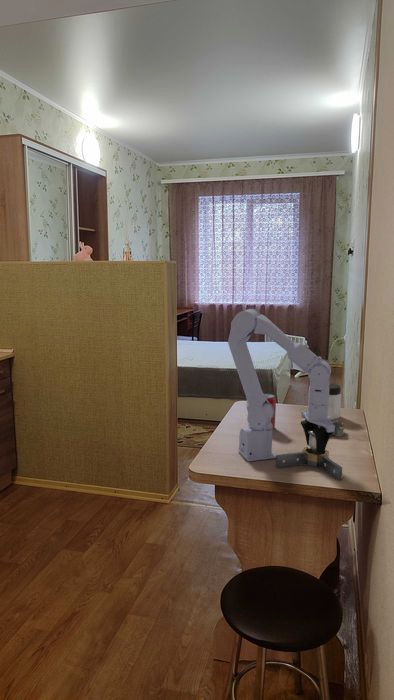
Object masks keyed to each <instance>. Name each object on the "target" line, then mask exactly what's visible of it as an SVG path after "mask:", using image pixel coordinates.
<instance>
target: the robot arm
mask: <svg viewBox="0 0 394 700" xmlns="http://www.w3.org/2000/svg"><path fill="white" fill-rule="evenodd" d="M253 333H254V334H258V335H265V336H266V337H267V338H269V339H270V340H272V342H274V343H275V344H276V345H278V346H279V347H281V348H282V349H283V350H284V351H286V353H287V358H288V359H289V360H290V361H291V362H292V363H293V364H294V365H296V366H297V367H298V368H299V369H300V370H302V371H303V372H304V373H307V376H308V379H309V387H308V397H307V398H308V399H307V410H301V414H300V416H301V418H302V419H304V420H301V421H300V425H301V427H302V429H303V432H304V436H305V440H306V441H305V442H306V445H307V447H309V436H310V434H308V430H309V429H311V428H313V431H314V433H315V437H316V449H317V452H324V451H325V449H326V448H327V445H328V442H329V440H330V438H331V436H333V435H332V434H333V432H334V430H335V425H333V424H332V423H331V422H332V421H331V417H329V416H328V405H329V384H331V383H330V378H331V373H332V368H331V365H330V363H328V361H327V360H325V359H322V357H321V356H320V355H319V356H317V355H316V354H315V353H314V352H313V351H312V350H311V349H310V346H309V345H308V344H307V343H305V344H304V343H302V342H294V341H293V340H292V339H291V338H290V337H289V336H287V335H286V333H285V332H283V331H282V329H280V328H279V327H278V326H277V325H276V324H274V322H272V321H271V320H270V319H269V318H268V317H267V316H266V315H264V314H261V313H260V311H258V310H257V309H255V308H247V309H246V310H242V311H240V312H237V314H235V316H234V318H233V319H232V321H231V322H230V331H229V334H228V335H229V336H228V339H227V340H228V341H227V344H228V347H229V350H230V353H231V357H232V359H233V363H234V365H235V367H236V371H237V373H238V376H239V380H240V383H241V386H242V389H243V392H244V395H245V397H246V410H247V419H246V421H247V423H248V426H246V427H243V428H240V430H239V441H238V442H239V443H238V451H237V452H238V453H239V455H241V456H242V457H243V458H244V459H245V460H246V461H247V462H254V461H262V460H269V459H270V460H272V459H276V455H277V454H275V453H274V452H273V430H274V429H273V425H272V423H271V421H270V419H272V417H273V415H274V409H273V407H272V405H271V404H270V403H269V402H268V400H267V397H266V396H265V395H264V394H265V393H264V392H263V390H262V387H261V383H260V380H259V377H258V374H257V371H256V368H255V366H254V363H253V358H252V356H251V353H250V350H249V347H248V344H247V342H248V341H249V339H250V338H251V336H252V334H253ZM319 426H320V428H318V427H319Z"/></svg>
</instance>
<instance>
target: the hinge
mask: <svg viewBox="0 0 394 700" xmlns="http://www.w3.org/2000/svg"><path fill="white" fill-rule="evenodd" d="M308 447H309V446H306V447H303V448H302V450H301V451H299V452H290V453H282V454H281V453H280V454H275V455H276V458H275V468H276V469H283V468H290V467H299V466H307V467H310V468H316V469H319V468H320V469H322V470H323V471H324V472H326V473H327V474H329V475H330V476H331V477H333V478H334V479H335V480H337V481H342V478H343V467H342V466H341V465H339V464H338V463H337V462H335V461H333V460H332V459H330V458H329V455H330V451H329V450H327V449H326V448H325V451H324V452H322V454H320V455H316V454H310V453H308Z"/></svg>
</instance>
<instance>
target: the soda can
mask: <svg viewBox="0 0 394 700" xmlns="http://www.w3.org/2000/svg"><path fill="white" fill-rule="evenodd" d="M263 394H264V395H265V396H266V397H267V400H268V402H269V403H270V404H271V405H272V407H273V409H274V415H273V417H272V419H270V421H271V423H272V425H273V430H274V429H275V428H276V408H277V407H276V405H277V399H276V397H275V396H276V395H274V394H272V393H263Z"/></svg>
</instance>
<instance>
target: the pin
mask: <svg viewBox="0 0 394 700" xmlns="http://www.w3.org/2000/svg"><path fill="white" fill-rule="evenodd" d="M308 434H310V436H309V446H307V447H308V453H310V454H316V455H320V454H322V452H317V449H316V437H315V433H314V431H313V428H311V429H309V430H308Z"/></svg>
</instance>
